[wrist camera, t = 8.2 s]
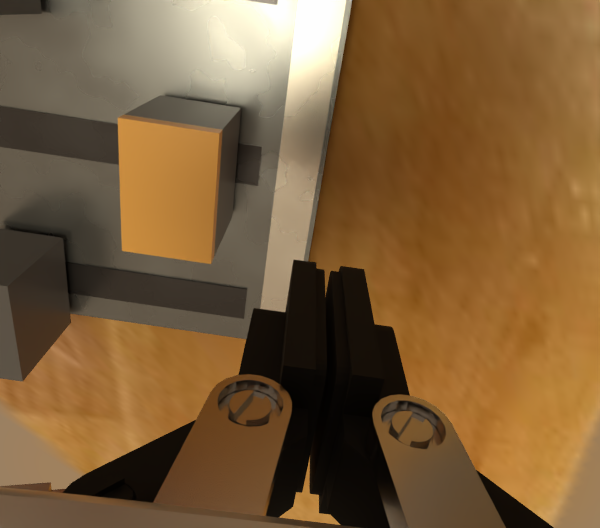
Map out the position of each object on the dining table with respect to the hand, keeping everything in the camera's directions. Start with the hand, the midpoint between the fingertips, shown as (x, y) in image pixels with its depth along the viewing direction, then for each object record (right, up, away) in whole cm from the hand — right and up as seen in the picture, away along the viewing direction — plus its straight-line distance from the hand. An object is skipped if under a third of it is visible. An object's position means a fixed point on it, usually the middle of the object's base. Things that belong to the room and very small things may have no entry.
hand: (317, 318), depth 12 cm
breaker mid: (-4, +5, +7) cm, 10 cm away
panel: (-7, +7, +9) cm, 13 cm away
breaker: (-12, +1, +10) cm, 16 cm away
